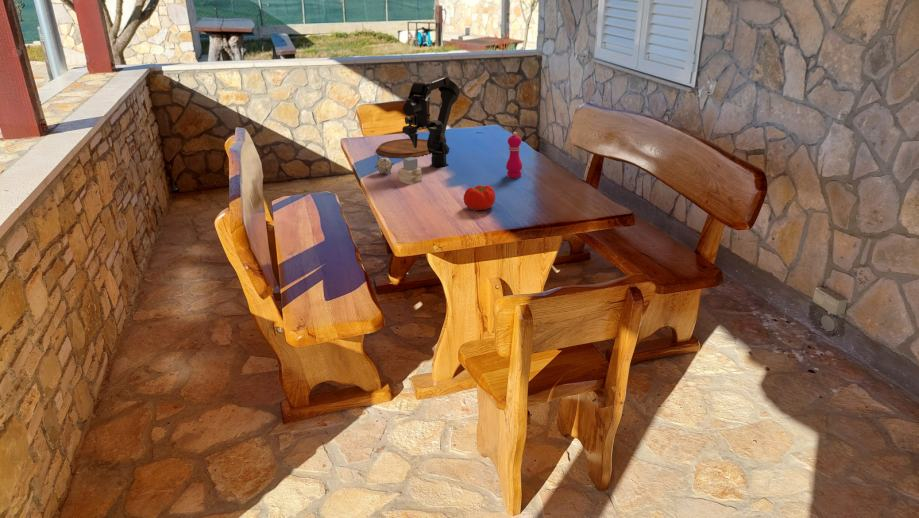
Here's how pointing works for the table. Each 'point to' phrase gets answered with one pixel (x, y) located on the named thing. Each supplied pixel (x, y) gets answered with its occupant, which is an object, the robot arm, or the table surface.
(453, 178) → the table surface
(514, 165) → the pepper mill
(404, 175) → the slab upper
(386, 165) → the spiky ball
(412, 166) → the cube
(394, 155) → the cutting board
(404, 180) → the slab lower
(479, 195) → the tomato
